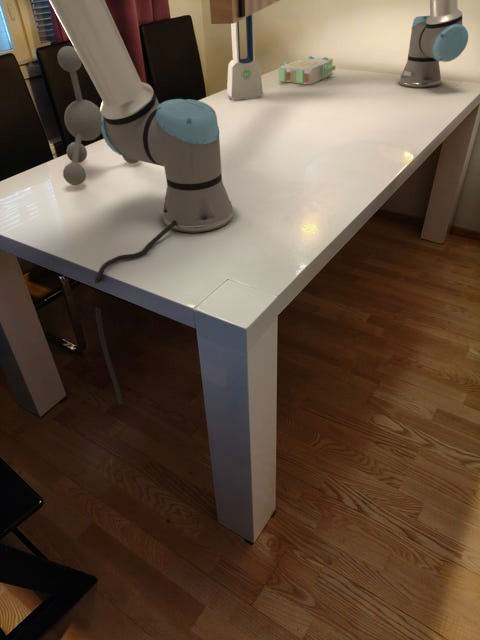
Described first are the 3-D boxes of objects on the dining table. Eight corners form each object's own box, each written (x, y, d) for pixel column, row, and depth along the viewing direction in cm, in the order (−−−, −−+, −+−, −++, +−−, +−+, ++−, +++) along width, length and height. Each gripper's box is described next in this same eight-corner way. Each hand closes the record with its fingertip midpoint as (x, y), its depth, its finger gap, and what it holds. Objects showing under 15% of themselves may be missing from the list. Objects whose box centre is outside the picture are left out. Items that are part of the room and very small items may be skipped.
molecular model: (153, 175, 128) (132, 46, 109) (67, 191, 122) (30, 58, 104) (135, 149, 145) (114, 34, 127) (59, 162, 140) (26, 43, 121)
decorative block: (301, 54, 217) (341, 57, 207) (300, 70, 221) (340, 74, 211) (269, 65, 201) (312, 69, 191) (269, 82, 205) (311, 87, 195)
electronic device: (231, 100, 184) (226, 7, 166) (227, 96, 190) (221, 5, 172) (263, 96, 187) (261, 4, 168) (257, 92, 192) (255, 2, 174)
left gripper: (271, -120, 99) (271, 14, 114) (188, -112, 104) (198, 15, 118) (262, -123, 94) (264, 18, 108) (174, -115, 98) (187, 19, 113)
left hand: (230, 16), depth 113 cm, fingers closed on post, 5 cm apart
